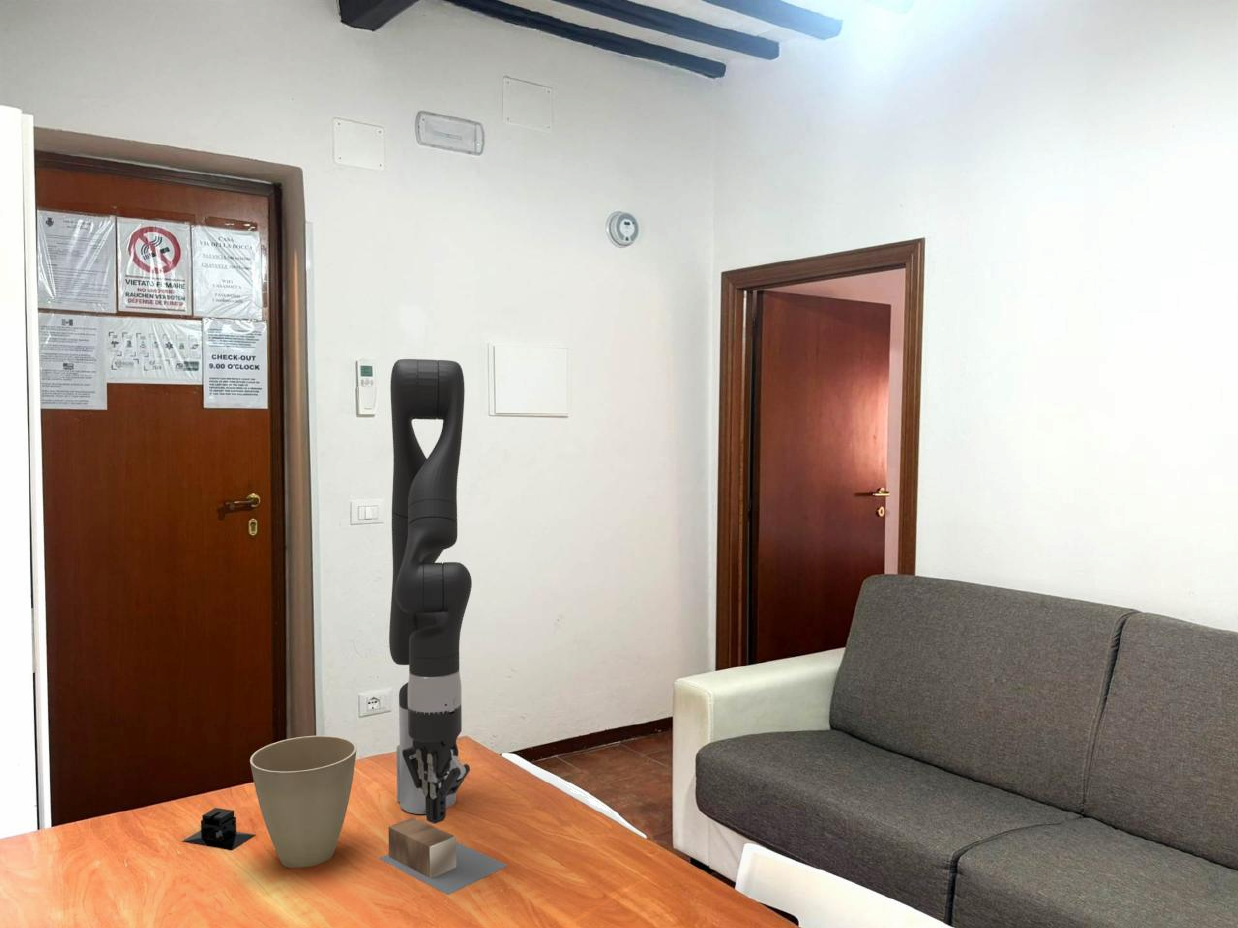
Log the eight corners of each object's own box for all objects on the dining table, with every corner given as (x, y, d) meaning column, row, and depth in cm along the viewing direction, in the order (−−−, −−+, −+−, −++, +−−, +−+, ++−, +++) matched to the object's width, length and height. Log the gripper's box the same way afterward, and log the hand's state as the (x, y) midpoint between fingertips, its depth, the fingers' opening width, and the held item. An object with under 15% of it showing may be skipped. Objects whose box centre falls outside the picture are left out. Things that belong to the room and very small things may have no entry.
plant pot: (328, 826, 152) (326, 728, 151) (376, 857, 141) (375, 752, 140) (235, 857, 141) (232, 751, 140) (279, 893, 131) (277, 779, 130)
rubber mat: (378, 860, 140) (378, 858, 140) (438, 835, 148) (438, 833, 148) (448, 897, 130) (448, 894, 130) (508, 868, 138) (508, 865, 138)
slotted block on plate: (169, 845, 146) (168, 816, 146) (203, 825, 153) (202, 798, 153) (236, 857, 142) (235, 827, 142) (268, 836, 149) (267, 808, 149)
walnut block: (431, 878, 134) (388, 856, 140) (456, 866, 137) (413, 846, 144) (430, 847, 134) (388, 826, 140) (456, 836, 137) (413, 817, 144)
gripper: (384, 698, 137) (386, 816, 138) (443, 718, 128) (444, 843, 129) (427, 687, 143) (428, 800, 144) (485, 705, 134) (486, 825, 135)
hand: (435, 820), depth 136 cm, fingers closed
